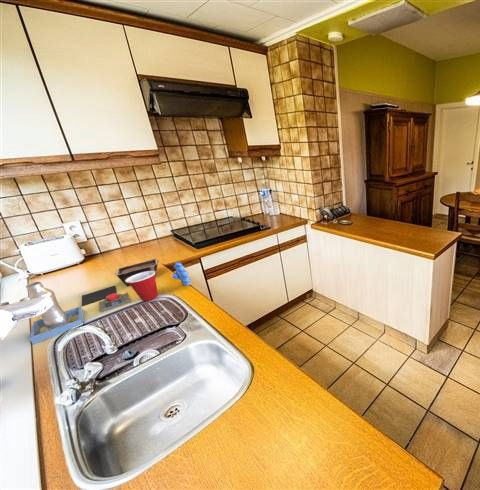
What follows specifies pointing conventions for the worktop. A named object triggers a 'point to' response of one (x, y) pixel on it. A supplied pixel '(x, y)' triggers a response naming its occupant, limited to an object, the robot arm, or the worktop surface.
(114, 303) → the control block
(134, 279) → the plastic cup
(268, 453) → the worktop surface
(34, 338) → the dish rack
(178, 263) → the grapes
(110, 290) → the drying mat
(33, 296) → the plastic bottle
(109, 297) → the button
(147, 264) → the baking dish
